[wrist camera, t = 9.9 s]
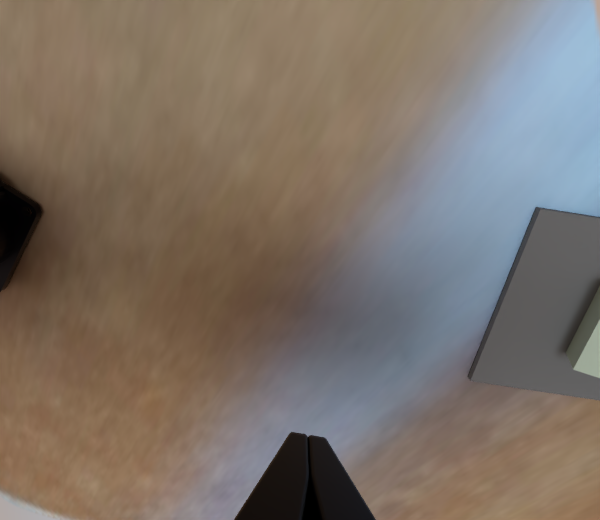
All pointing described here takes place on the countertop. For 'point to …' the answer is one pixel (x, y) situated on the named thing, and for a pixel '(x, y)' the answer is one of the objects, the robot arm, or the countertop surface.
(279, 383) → the countertop surface
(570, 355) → the domino
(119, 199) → the countertop surface
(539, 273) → the mat
